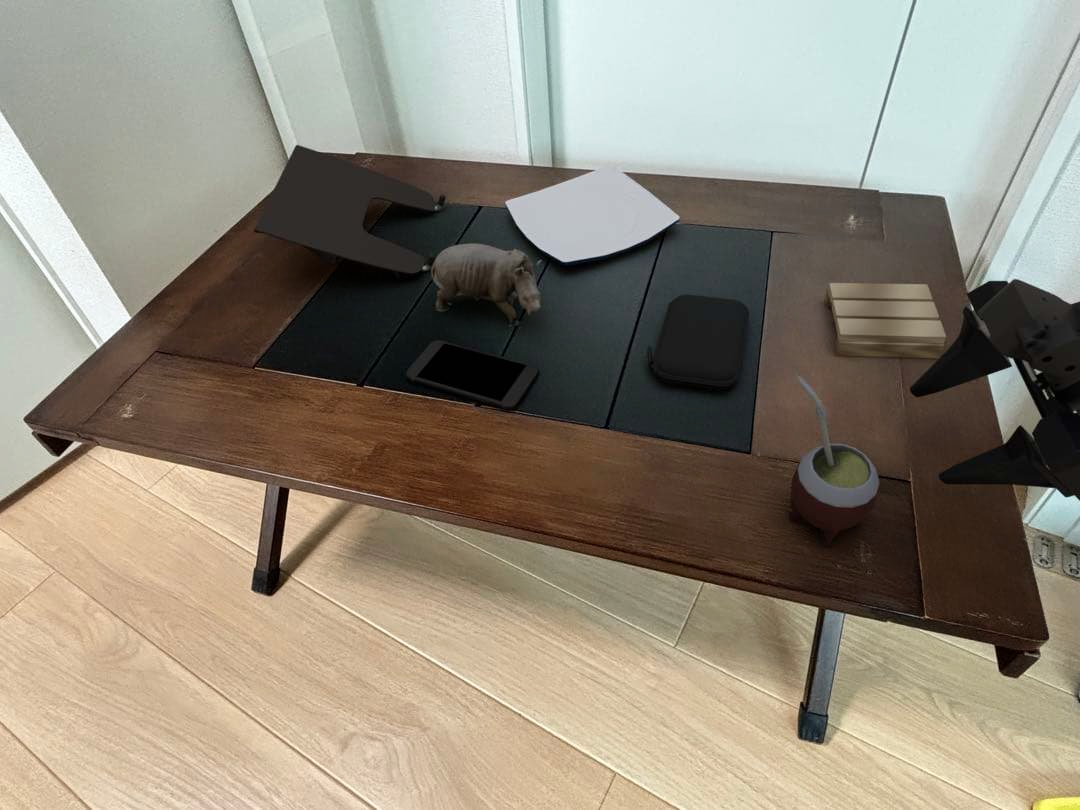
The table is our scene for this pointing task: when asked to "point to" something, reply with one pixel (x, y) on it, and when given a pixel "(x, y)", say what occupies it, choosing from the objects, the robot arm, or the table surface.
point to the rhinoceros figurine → (486, 277)
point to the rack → (885, 320)
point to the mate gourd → (832, 483)
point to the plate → (590, 217)
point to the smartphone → (473, 374)
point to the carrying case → (701, 342)
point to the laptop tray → (340, 211)
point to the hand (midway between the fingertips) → (926, 434)
